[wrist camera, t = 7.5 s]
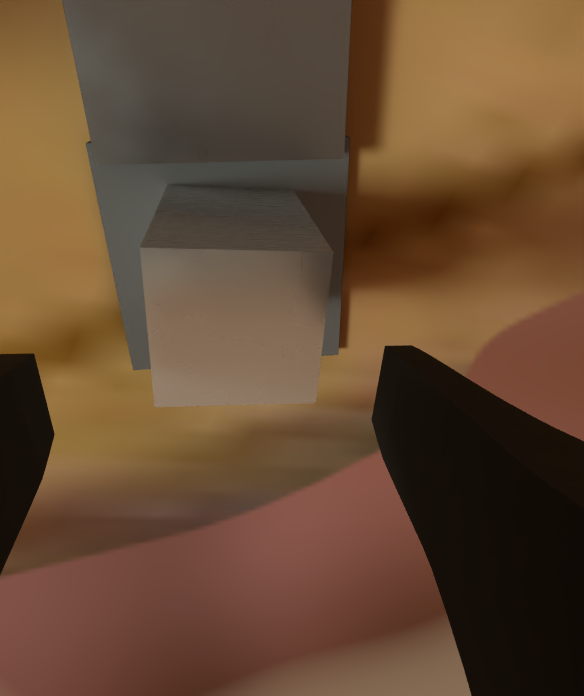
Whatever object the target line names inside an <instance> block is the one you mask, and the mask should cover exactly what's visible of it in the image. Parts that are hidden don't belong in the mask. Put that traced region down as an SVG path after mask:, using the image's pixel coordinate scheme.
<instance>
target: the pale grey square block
mask: <svg viewBox="0 0 584 696" xmlns="http://www.w3.org/2000/svg"><path fill="white" fill-rule="evenodd" d="M333 253H334V252H333V251H332V249H331V248H330V246H329V245H328V243H327V241H326V240H325V238H324V237H323V235H322V234H321V232H320V231H319V229H318V228H317V226H316V224H315V223H314V221H313V220H312V218H311V217H310V215H309V214H308V212H307V211H306V209H305V207H304V206H303V204H302V203H301V201H300V200H299V198H298V197H297V195H296V194H295V192H294V191H293V190H284V189H261V188H238V187H216V186H193V185H171V184H167V186H166V189H165V191H164V193H163V196H162V198H161V200H160V202H159V205H158V207H157V209H156V212H155V214H154V216H153V218H152V221H151V223H150V225H149V228H148V230H147V232H146V234H145V237H144V239H143V241H142V244H141V246H140V256H141V267H142V278H143V288H144V299H145V310H146V320H147V331H148V342H149V352H150V363H151V374H152V384H153V395H154V406H155V407H180V406H218V405H256V404H293V403H316V396H317V388H318V379H319V371H320V362H321V354H322V346H323V337H324V329H325V320H326V312H327V303H328V295H329V287H330V278H331V270H332V261H333Z"/></svg>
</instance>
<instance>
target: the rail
mask: <svg viewBox="0 0 584 696" xmlns="http://www.w3.org/2000/svg"><path fill="white" fill-rule="evenodd" d="M62 2H63V6H64V11H65V16H66V21H67V26H68V31H69V36H70V41H71V46H72V51H73V55H74V60H75V65H76V70H77V75H78V80H79V85H80V90H81V95H82V99H83V104H84V109H85V114H86V119H87V124H88V129H89V134H90V139H91V144H92V148H93V153H94V158H95V163H96V165H132V164H169V163H206V162H243V161H280V160H318V159H344V148H345V127H346V107H347V87H348V66H349V46H350V25H351V5H352V0H62Z"/></svg>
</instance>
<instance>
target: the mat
mask: <svg viewBox="0 0 584 696" xmlns="http://www.w3.org/2000/svg"><path fill="white" fill-rule="evenodd" d="M86 147H87V152H88V157H89V161H90V166H91V171H92V176H93V181H94V185H95V190H96V195H97V200H98V204H99V209H100V214H101V219H102V223H103V228H104V233H105V238H106V242H107V247H108V252H109V257H110V261H111V266H112V271H113V276H114V281H115V285H116V290H117V295H118V300H119V304H120V309H121V314H122V319H123V323H124V328H125V333H126V338H127V342H128V347H129V352H130V357H131V362H132V366H133V370H141V369H151V363H150V352H149V342H148V331H147V320H146V310H145V299H144V288H143V278H142V267H141V256H140V246H141V244H142V241H143V239H144V237H145V234H146V232H147V230H148V228H149V225H150V223H151V221H152V218H153V216H154V214H155V212H156V209H157V207H158V205H159V202H160V200H161V198H162V196H163V193H164V191H165V189H166V186H167V184H171V185H193V186H216V187H238V188H261V189H284V190H293V191H294V192H295V194H296V195H297V197H298V198H299V200H300V201H301V203H302V204H303V206H304V207H305V209H306V211H307V212H308V214H309V215H310V217H311V218H312V220H313V221H314V223H315V224H316V226H317V228H318V229H319V231H320V232H321V234H322V235H323V237H324V238H325V240H326V241H327V243H328V245H329V246H330V248H331V249H332V251H333V252H334V253H333V261H332V270H331V278H330V287H329V295H328V303H327V312H326V320H325V329H324V337H323V346H322V354H321V356H324V355H338V351H339V332H340V314H341V295H342V277H343V258H344V240H345V221H346V202H347V184H348V165H349V147H350V137H348V136H345V148H344V159H318V160H280V161H243V162H206V163H169V164H132V165H96V163H95V158H94V153H93V148H92V144H91V141H89V142H87V143H86Z"/></svg>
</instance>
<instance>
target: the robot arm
mask: <svg viewBox="0 0 584 696" xmlns="http://www.w3.org/2000/svg"><path fill="white" fill-rule="evenodd" d="M372 423H373V426H374V430H375V434H376V437H377V441H378V444H379V447H380V451H381V454H382V457H383V460H384V462H385V464H386V467H387V469H388V471H389V474H390V476H391V478H392V480H393V482H394V485H395V487H396V489H397V491H398V494H399V495H400V498H401V500H402V502H403V505H404V507H405V509H406V511H407V513H408V516H409V518H410V520H411V522H412V524H413V526H414V529H415V531H416V533H417V535H418V537H419V540H420V542H421V544H422V546H423V549H424V551H425V554H426V556H427V558H428V561H429V563H430V566H431V568H432V571H433V574H434V577H435V580H436V583H437V586H438V589H439V592H440V595H441V598H442V601H443V604H444V607H445V610H446V613H447V615H448V619H449V622H450V625H451V628H452V631H453V635H454V638H455V641H456V645H457V648H458V651H459V654H460V657H461V661H462V664H463V667H464V670H465V674H466V677H467V681H468V684H469V688H470V692H471V695H472V696H584V441H582V440H580V439H578V438H575V437H573V436H571V435H569V434H567V433H565V432H563V431H560V430H558V429H556V428H554V427H552V426H550V425H548V424H546V423H544V422H542V421H540V420H538V419H537V418H535V417H533V416H531V415H529V414H527V413H526V412H523V411H522V410H520V409H518V408H516V407H515V406H513V405H511V404H509V403H507V402H506V401H504V400H502V399H501V398H499V397H497V396H495V395H494V394H492V393H490V392H489V391H487V390H485V389H484V388H482V387H480V386H479V385H477V384H476V383H474V382H472V381H471V380H469V379H467V378H466V377H464V376H463V375H461V374H459V373H458V372H456V371H455V370H453V369H451V368H450V367H448V366H447V365H445V364H443V363H442V362H440V361H439V360H437V359H435V358H434V357H432V356H430V355H429V354H427V353H425V352H423V351H422V350H420V349H418V348H416V347H414V346H412V345H408V346H385V349H384V354H383V360H382V365H381V371H380V376H379V382H378V387H377V393H376V398H375V404H374V409H373V415H372ZM53 438H54V430H53V426H52V423H51V419H50V415H49V411H48V407H47V403H46V399H45V395H44V391H43V387H42V383H41V379H40V375H39V371H38V367H37V364H36V360H35V356H34V354H0V574H1V572H2V570H3V567H4V565H5V563H6V561H7V558H8V556H9V554H10V552H11V549H12V547H13V545H14V543H15V540H16V538H17V536H18V534H19V531H20V529H21V527H22V525H23V522H24V520H25V518H26V516H27V513H28V511H29V509H30V506H31V504H32V502H33V499H34V497H35V495H36V492H37V490H38V488H39V485H40V483H41V481H42V478H43V475H44V471H45V468H46V464H47V461H48V457H49V454H50V450H51V446H52V442H53Z"/></svg>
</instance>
